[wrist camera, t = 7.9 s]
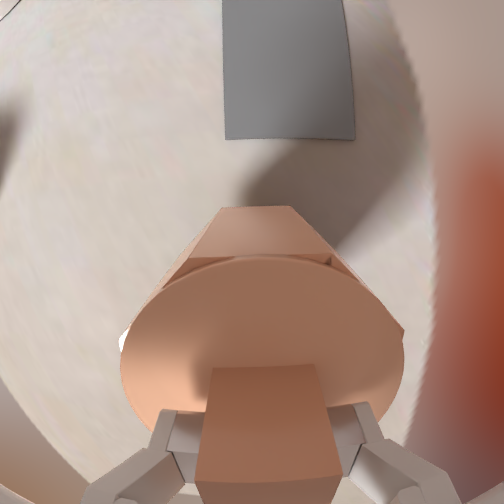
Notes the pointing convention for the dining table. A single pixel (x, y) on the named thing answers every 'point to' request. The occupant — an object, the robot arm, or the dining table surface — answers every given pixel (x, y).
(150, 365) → the cloche
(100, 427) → the dining table surface
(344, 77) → the mat
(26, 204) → the dining table surface
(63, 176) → the dining table surface
